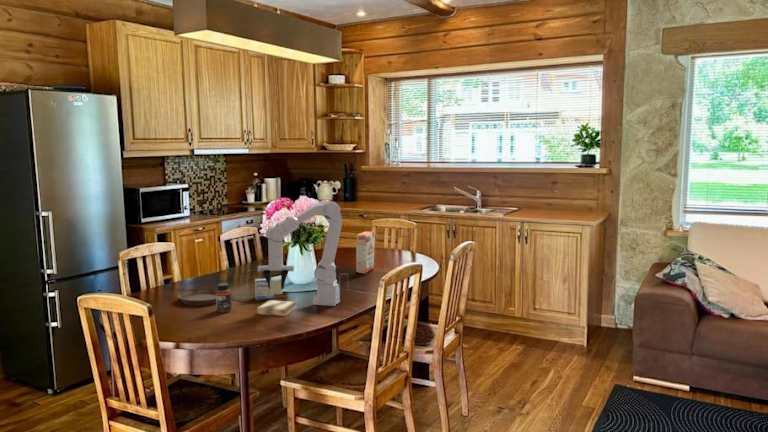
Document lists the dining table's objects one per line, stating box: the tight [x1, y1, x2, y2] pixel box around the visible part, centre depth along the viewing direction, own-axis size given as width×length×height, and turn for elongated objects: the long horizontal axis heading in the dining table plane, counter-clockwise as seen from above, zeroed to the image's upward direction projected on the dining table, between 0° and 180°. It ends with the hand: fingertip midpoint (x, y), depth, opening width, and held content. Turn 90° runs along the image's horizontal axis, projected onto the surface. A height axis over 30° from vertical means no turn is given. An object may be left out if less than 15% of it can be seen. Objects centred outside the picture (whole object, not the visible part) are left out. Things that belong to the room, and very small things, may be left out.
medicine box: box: [254, 277, 275, 301], centre depth 258 cm, size 8×4×9 cm, turn 105°
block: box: [270, 277, 284, 295], centre depth 238 cm, size 4×4×6 cm
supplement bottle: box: [215, 282, 233, 314], centre depth 238 cm, size 6×6×11 cm
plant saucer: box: [177, 287, 218, 306], centre depth 255 cm, size 21×21×3 cm
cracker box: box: [355, 231, 375, 274], centre depth 310 cm, size 14×6×21 cm, turn 163°
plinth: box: [256, 299, 297, 317], centre depth 239 cm, size 12×12×3 cm
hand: (276, 288), depth 238 cm, fingers closed on block, 4 cm apart
